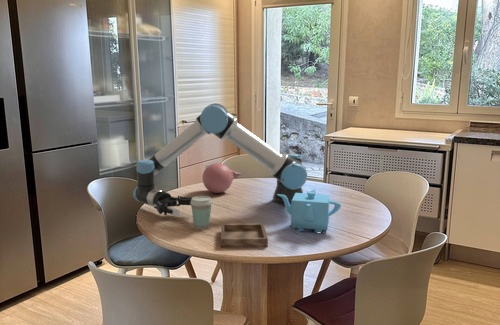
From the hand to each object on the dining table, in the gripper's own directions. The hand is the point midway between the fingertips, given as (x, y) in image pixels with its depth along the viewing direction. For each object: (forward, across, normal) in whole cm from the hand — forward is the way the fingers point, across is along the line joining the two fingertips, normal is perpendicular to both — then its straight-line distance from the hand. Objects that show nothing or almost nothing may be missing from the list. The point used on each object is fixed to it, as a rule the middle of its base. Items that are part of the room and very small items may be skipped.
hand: (192, 209), depth 175 cm
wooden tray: (+25, -3, -6) cm, 26 cm away
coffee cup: (+5, 0, -7) cm, 8 cm away
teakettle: (+36, -29, -7) cm, 47 cm away
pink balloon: (-27, -43, -7) cm, 52 cm away
